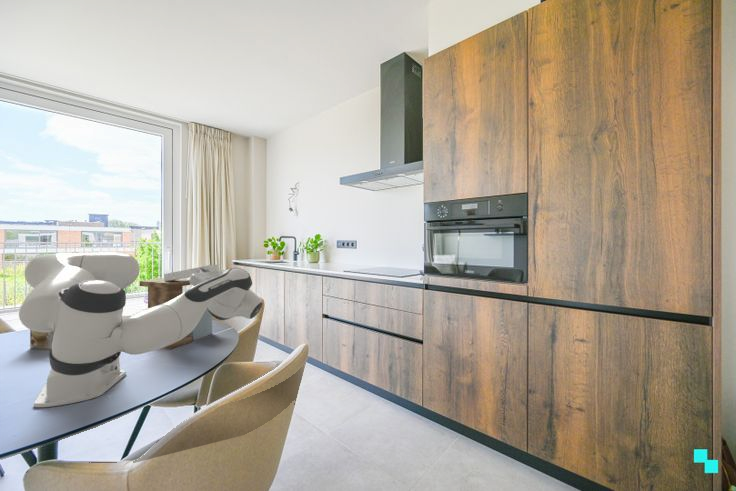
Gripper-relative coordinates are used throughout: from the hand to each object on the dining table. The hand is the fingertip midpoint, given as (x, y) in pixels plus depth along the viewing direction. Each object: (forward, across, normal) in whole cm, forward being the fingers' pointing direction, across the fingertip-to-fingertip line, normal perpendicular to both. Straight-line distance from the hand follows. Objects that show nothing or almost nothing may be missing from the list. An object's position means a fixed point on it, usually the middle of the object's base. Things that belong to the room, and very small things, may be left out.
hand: (203, 268), depth 122 cm
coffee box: (+36, -19, -57) cm, 70 cm away
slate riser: (-1, +11, -36) cm, 38 cm away
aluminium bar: (+4, 0, -6) cm, 7 cm away
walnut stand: (+2, 0, -38) cm, 38 cm away
